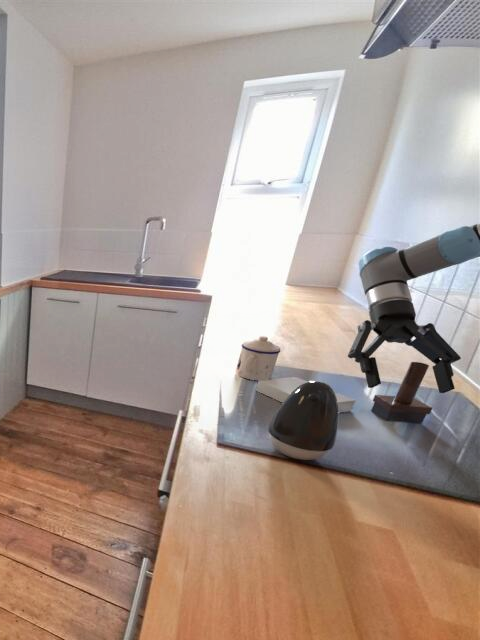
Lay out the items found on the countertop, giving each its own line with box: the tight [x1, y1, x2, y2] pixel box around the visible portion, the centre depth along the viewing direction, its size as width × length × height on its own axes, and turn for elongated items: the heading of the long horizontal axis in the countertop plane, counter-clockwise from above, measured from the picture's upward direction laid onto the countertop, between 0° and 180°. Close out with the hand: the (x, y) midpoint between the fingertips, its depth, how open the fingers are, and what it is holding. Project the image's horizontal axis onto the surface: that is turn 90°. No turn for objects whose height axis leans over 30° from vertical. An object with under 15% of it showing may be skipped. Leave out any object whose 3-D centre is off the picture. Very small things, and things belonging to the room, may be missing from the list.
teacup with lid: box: [235, 335, 281, 382], centre depth 115 cm, size 12×9×12 cm
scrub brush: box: [370, 361, 433, 424], centre depth 92 cm, size 8×6×13 cm
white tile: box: [255, 376, 356, 413], centre depth 103 cm, size 15×12×3 cm
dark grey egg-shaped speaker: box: [267, 380, 339, 461], centre depth 78 cm, size 10×10×15 cm
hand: (410, 388), depth 92 cm, fingers open, 13 cm apart
